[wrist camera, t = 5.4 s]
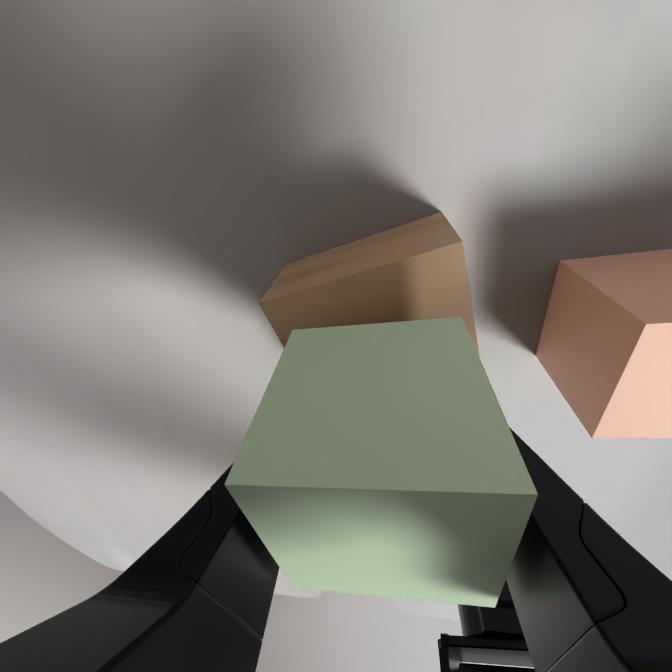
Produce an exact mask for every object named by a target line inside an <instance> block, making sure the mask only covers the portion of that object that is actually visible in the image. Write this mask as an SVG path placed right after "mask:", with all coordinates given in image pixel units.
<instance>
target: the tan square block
mask: <svg viewBox="0 0 672 672" xmlns="http://www.w3.org/2000/svg"><path fill="white" fill-rule="evenodd" d="M259 304H260V306H261V308H262V309H263V311H264V313H265V315H266V316H267V318H268V320H269V322H270V323H271V325H272V327H273V329H274V330H275V332H276V334H277V336H278V337H279V339H280V341H281V343H282V344H283V346H284V348H285V346H286V344H287V341H288V339H289V337H290V334H291V332H292V330H297V329H310V328H323V327H336V326H349V325H362V324H375V323H388V322H401V321H415V320H428V319H441V318H454V317H462V319H463V321H464V323H465V326H466V328H467V330H468V333H469V335H470V337H471V340H472V342H473V344H474V347H475V349H476V351H477V354H478V356H479V351H478V344H477V337H476V331H475V324H474V317H473V310H472V303H471V297H470V290H469V283H468V276H467V269H466V263H465V256H464V249H463V242H462V240H461V239H460V237H459V236H458V234H457V233H456V232H455V230H454V229H453V227H452V226H451V225H450V223H449V222H448V220H447V219H446V218H445V216H444V215H443V213H442V212H438V213H435V214H432V215H429V216H426V217H423V218H420V219H417V220H414V221H411V222H408V223H405V224H402V225H399V226H397V227H394V228H391V229H388V230H385V231H382V232H379V233H376V234H373V235H370V236H367V237H364V238H361V239H358V240H355V241H352V242H349V243H346V244H343V245H340V246H337V247H334V248H331V249H328V250H325V251H322V252H319V253H317V254H314V255H311V256H308V257H305V258H302V259H299V260H296V261H293V262H290V263H287V264H285V266H284V267H283V269H282V270H281V271H280V273H279V274H278V276H277V277H276V279H275V280H274V282H273V283H272V284H271V286H270V287H269V289H268V290H267V292H266V293H265V295H264V296H263V297H262V299H261V300H260V302H259Z"/></svg>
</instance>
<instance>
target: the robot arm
mask: <svg viewBox="0 0 672 672" xmlns="http://www.w3.org/2000/svg"><path fill="white" fill-rule="evenodd" d="M510 431H511V433H512V435H513V438H514V440H515V442H516V445H517V447H518V449H519V452H520V454H521V456H522V458H523V461H524V463H525V465H526V468H527V470H528V472H529V475H530V477H531V479H532V482H533V484H534V486H535V489H536V491H537V493H538V496H537V499H536V501H535V504H534V506H533V509H532V512H531V514H530V517H529V520H528V522H527V525H526V528H525V530H524V533H523V535H522V538H521V541H520V543H519V546H518V549H517V551H516V554H515V557H514V559H513V562H512V564H511V567H510V570H509V572H508V575H507V578H506V580H505V583H504V586H503V588H502V591H501V593H500V596H499V599H498V601H497V604H496V607H495V608H492V607H482V606H472V605H462V604H458V608H459V615H460V621H461V627H462V633H463V636H450V635H448V634H441V639H438V648H439V657H440V668H441V672H672V581H671V580H670V579H669V578H668V577H666V576H665V575H664V574H663V573H662V572H661V571H659V570H658V569H657V568H656V567H655V566H654V565H653V564H651V563H650V562H649V561H648V560H647V559H646V558H645V557H643V556H642V555H641V554H640V553H639V552H638V551H637V550H636V549H634V548H633V547H632V546H631V545H630V544H629V543H628V542H626V541H625V540H624V539H623V538H622V537H621V536H620V535H619V534H618V533H617V532H616V531H615V530H614V529H613V528H612V527H611V526H610V525H608V524H607V523H606V522H605V521H604V520H603V519H602V518H601V517H600V516H599V515H598V514H597V513H596V512H595V511H594V510H593V509H592V508H591V507H590V506H589V505H588V504H587V503H584V501H583V499H582V498H581V497H580V496H579V495H578V494H577V493H576V492H575V491H574V490H573V489H571V488H570V487H569V486H568V485H567V484H566V483H565V482H564V481H563V480H562V479H561V478H560V477H559V476H558V475H557V474H556V473H555V472H554V471H553V470H552V469H551V468H550V467H549V466H548V465H547V464H546V463H545V462H544V461H543V460H542V459H541V458H540V457H539V456H538V455H537V454H536V453H535V452H534V451H533V450H532V449H531V448H530V447H529V446H528V445H527V444H526V443H525V442H524V441H523V440H522V439H521V438H520V437H519V436H518V435H517V434H516V433H515V432H514V431H513V430H512V429H511V428H510ZM233 464H234V463H233ZM233 464H232V465H231V466H230V467H229V468H228V469H227V470H226V471H225V472H224V473H223V475H222V476H221V477H220V478H219V479H218V480H217V481H216V482H215V483H214V484H213V485H212V486H211V488H210V490H208V491H207V492H206V493H205V494H204V495H203V496H202V497H201V498H200V499H199V500H198V501H197V502H196V503H195V504H194V506H193V507H192V508H191V509H190V510H189V511H188V512H187V513H186V514H185V515H184V516H183V517H182V518H181V519H180V520H179V521H178V522H177V523H176V524H175V525H174V526H173V527H172V528H170V529H169V530H168V531H167V532H166V533H165V534H164V535H163V536H162V537H161V538H160V539H159V540H158V541H157V542H156V543H155V544H154V545H152V546H151V547H150V548H149V549H148V550H147V551H146V552H145V553H144V554H143V555H142V556H141V557H140V558H139V559H137V560H136V561H135V562H134V563H133V564H132V565H131V566H130V567H129V568H128V569H127V570H126V571H125V572H123V574H121V575H120V576H119V577H118V578H117V579H116V580H114V581H113V582H112V583H111V584H109V585H108V586H107V587H106V588H104V589H103V590H101V591H100V592H98V593H97V594H96V595H94V596H92V597H91V598H89V599H87V600H85V601H83V602H81V603H79V604H77V605H76V606H73V607H71V608H69V609H67V610H66V611H63V612H61V613H59V614H57V615H56V616H54V617H52V618H49V619H47V620H45V621H44V622H42V623H39V624H37V625H36V626H34V627H32V628H30V629H28V630H26V631H24V632H22V633H20V634H18V635H16V636H14V637H12V638H10V639H8V640H6V641H4V642H2V643H0V672H255V671H256V667H257V662H258V658H259V653H260V649H261V645H262V639H263V635H264V631H265V627H266V622H267V619H268V614H269V610H270V606H271V601H272V597H273V593H274V588H275V584H276V580H277V575H278V571H279V566H278V564H277V563H276V561H275V560H274V558H273V557H272V555H271V554H270V552H269V551H268V549H267V548H266V546H265V545H264V543H263V542H262V540H261V539H260V537H259V536H258V534H257V533H256V531H255V530H254V528H253V527H252V525H251V524H250V522H249V521H248V519H247V518H246V516H245V515H244V513H243V512H242V510H241V509H240V507H239V506H238V504H237V503H236V501H235V500H234V498H233V497H232V495H231V494H230V492H229V491H228V489H227V488H226V486H225V485H224V484H225V482H226V480H227V477H228V475H229V473H230V471H231V468H232V466H233ZM583 503H584V504H583ZM463 662H474V663H487V664H501V665H514V666H528V667H534V668H535V669H531V668H518V667H505V666H492V665H480V664H479V665H478V664H467V663H463Z"/></svg>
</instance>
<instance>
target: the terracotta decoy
mask: <svg viewBox="0 0 672 672" xmlns="http://www.w3.org/2000/svg"><path fill="white" fill-rule="evenodd" d="M536 357H537V358H538V360H539V361H540V363H541V364H542V366H543V367H544V368H545V370H546V371H547V373H548V374H549V376H550V377H551V379H552V380H553V382H554V383H555V385H556V386H557V388H558V389H559V390H560V392H561V393H562V395H563V396H564V398H565V399H566V401H567V402H568V404H569V405H570V407H571V408H572V410H573V411H574V412H575V414H576V415H577V417H578V418H579V420H580V421H581V423H582V424H583V426H584V427H585V429H586V430H587V432H588V433H589V434H590V436H591V437H592V438H672V249H663V250H654V251H644V252H635V253H625V254H616V255H606V256H597V257H587V258H578V259H568V260H560V262H559V266H558V269H557V273H556V277H555V281H554V285H553V289H552V293H551V297H550V301H549V305H548V309H547V313H546V317H545V321H544V325H543V329H542V333H541V337H540V341H539V345H538V348H537V352H536Z"/></svg>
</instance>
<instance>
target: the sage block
mask: <svg viewBox="0 0 672 672" xmlns="http://www.w3.org/2000/svg"><path fill="white" fill-rule="evenodd" d="M224 485H225V486H226V488H227V489H228V491H229V492H230V494H231V495H232V497H233V498H234V500H235V501H236V503H237V504H238V506H239V507H240V509H241V510H242V512H243V513H244V515H245V516H246V518H247V519H248V521H249V522H250V524H251V525H252V527H253V528H254V530H255V531H256V533H257V534H258V536H259V537H260V539H261V540H262V542H263V543H264V545H265V546H266V548H267V549H268V551H269V552H270V554H271V555H272V557H273V558H274V560H275V561H276V563H277V564H278V566H279V567H280V569H281V570H282V572H283V573H284V575H285V576H286V578H287V579H288V580H289V582H290V583H291V585H292V586H293V588H303V589H313V590H323V591H333V592H343V593H354V594H363V595H373V596H383V597H393V598H403V599H413V600H422V601H432V602H442V603H452V604H462V605H472V606H482V607H492V608H495V607H496V604H497V601H498V599H499V596H500V593H501V591H502V588H503V586H504V583H505V580H506V578H507V575H508V572H509V570H510V567H511V564H512V562H513V559H514V557H515V554H516V551H517V549H518V546H519V543H520V541H521V538H522V535H523V533H524V530H525V528H526V525H527V522H528V520H529V517H530V514H531V512H532V509H533V506H534V504H535V501H536V499H537V496H538V493H537V491H536V489H535V486H534V484H533V482H532V479H531V477H530V475H529V472H528V470H527V468H526V465H525V463H524V461H523V458H522V456H521V454H520V452H519V449H518V447H517V445H516V442H515V440H514V438H513V435H512V433H511V431H510V428H509V426H508V424H507V421H506V419H505V417H504V414H503V412H502V410H501V407H500V405H499V403H498V400H497V398H496V396H495V393H494V391H493V389H492V386H491V384H490V382H489V379H488V377H487V375H486V372H485V370H484V368H483V365H482V363H481V361H480V358H479V356H478V354H477V351H476V349H475V347H474V344H473V342H472V340H471V337H470V335H469V333H468V330H467V328H466V326H465V323H464V321H463V319H462V317H454V318H441V319H428V320H415V321H401V322H388V323H375V324H362V325H349V326H336V327H323V328H310V329H297V330H292V332H291V334H290V337H289V339H288V341H287V344H286V346H285V348H284V350H283V353H282V355H281V357H280V359H279V362H278V364H277V366H276V369H275V371H274V373H273V375H272V378H271V380H270V382H269V384H268V387H267V389H266V391H265V393H264V396H263V398H262V400H261V403H260V405H259V407H258V409H257V412H256V414H255V416H254V418H253V421H252V423H251V425H250V428H249V430H248V432H247V434H246V437H245V439H244V441H243V443H242V446H241V448H240V450H239V453H238V455H237V457H236V459H235V462H234V464H233V466H232V468H231V471H230V473H229V475H228V477H227V480H226V482H225V484H224Z"/></svg>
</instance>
